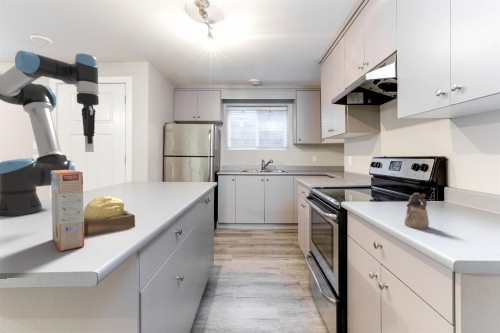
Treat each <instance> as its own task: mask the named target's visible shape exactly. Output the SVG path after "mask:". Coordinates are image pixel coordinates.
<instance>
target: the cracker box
mask: <svg viewBox="0 0 500 333" xmlns="http://www.w3.org/2000/svg"><path fill="white" fill-rule="evenodd" d="M83 173H84V172H82V171H79V170H76V169H75V170H54V171H51V185H50V186H51V187H50V189H51V190H50V191H51V220H52V221H51V225H52V227H51V228H52V230H51V233H52V240H53V242H54V244H55V246H56V247H57V250H58V251H59V252H64V251H68V250H73V249H79V248H83V247H85V236H84V179H83V178H84V174H83Z"/></svg>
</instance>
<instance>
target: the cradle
mask: <svg viewBox="0 0 500 333" xmlns="http://www.w3.org/2000/svg"><path fill="white" fill-rule="evenodd" d="M134 227H136V216H135V214H133V213H131V212H129V211H127V210H126V209H124V213H123V215H122V216H121V217H115V218H109V219H102V220H96V221H90V222H86V221H85V220H84V237H87V236H93V235H98V234H104V233H107V232H109V233H110V232H113V231H119V230H123V229H130V228H134Z"/></svg>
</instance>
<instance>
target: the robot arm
mask: <svg viewBox="0 0 500 333" xmlns="http://www.w3.org/2000/svg"><path fill="white" fill-rule="evenodd" d="M98 66H99V65H98V60H97V58H96V57H95V56H93V55H90V54H86V53H81V52H80V53H77V54H76V55H75V58H74V62H73V63H68V62H65V61H62V60H58V59H55V58H52V57H47V56H45V55H41V54H38V53H34V52H33V51H32V52H31V51H25V50H18V51H17V52H16V54H15V58H14V65H13V66H12V67H11V68H9V69H8V70H6V71H5V72H3V73H0V100H1V101H2V102H4V103H7V104H12V105H17V106H22V108H23V111H24V112H26V113H28V115H29V116H28V117H29V119H30V123H31V128H32V132H33V135H34V139H35V144H36V148H37V153H38V157H37V158H36V159H35V158H34V157H33V158H32V157H27V158H16V159H9V160H4V161H1V162H0V217H15V216H17V217H18V216H25V215H30V214H34V213H39V212H41V211H42V210H43V205H42V204H43V203H42V202H41V200H40V198H39V196H38V194H37V188H38V187H47V186H48V187H49V186H51V171H54V170H75V171H76V168H75V163H74V161H72V160H70V159H69V160H68V158H67V155H66V154H65V153H63V152H62V150H61V146H60V143H59V138H58V135H57V134H58V133H57V131H56V126H55V124H54V119H53V116H52V112H53V111H54V109H55V108H56V106H57V95H56V93H55V92H54V90H53V88H52V87H49V86H48V85H45V84H40V83H34V82H35V81H36V80H39V79H40V78H41V77H45V78H50V79H54V80H58V81H61V82H63V83H64V84H66V85H74V87H75V88H76V92H77V94H76V103H77V104H79V105H82V106H83V107H82V108H81V117H82V118H81V119H82V131H83V136H84V149H85V150H84V152H85V153H94V152H95V150H94V136H95V130H96V129H95V127H96V126H95V122H96V120H95V119H96V109H95V108H94V106H98V105H99V102H100V100H99V96H98V95H99V67H98Z"/></svg>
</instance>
